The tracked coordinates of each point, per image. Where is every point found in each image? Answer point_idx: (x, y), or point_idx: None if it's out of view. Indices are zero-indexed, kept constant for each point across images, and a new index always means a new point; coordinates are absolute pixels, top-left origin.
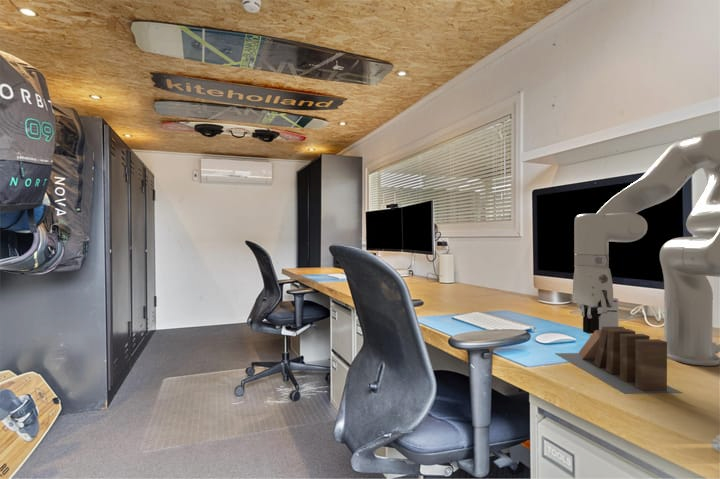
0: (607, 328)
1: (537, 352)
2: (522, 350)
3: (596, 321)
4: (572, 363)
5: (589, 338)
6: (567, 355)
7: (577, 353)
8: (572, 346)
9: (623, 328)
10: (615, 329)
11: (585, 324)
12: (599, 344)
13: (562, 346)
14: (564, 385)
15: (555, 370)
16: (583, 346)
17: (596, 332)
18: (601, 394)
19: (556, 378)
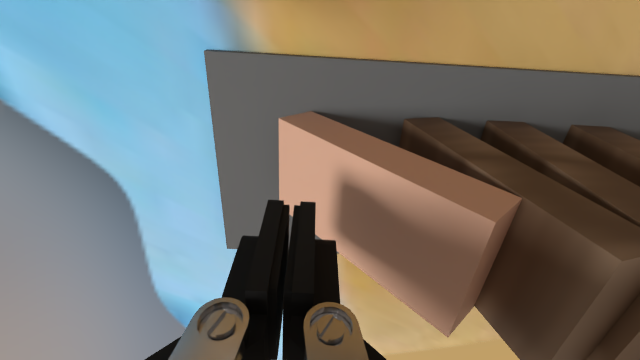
0: (566, 358)
1: (200, 279)
2: (180, 309)
3: (339, 302)
4: None
5: (372, 277)
6: (254, 219)
7: (224, 165)
8: (63, 94)
9: (636, 269)
10: (635, 350)
11: (282, 308)
12: None
13: (79, 147)
14: (489, 339)
15: (387, 311)
16: (316, 233)
17: (455, 326)
18: None
19: (442, 334)
